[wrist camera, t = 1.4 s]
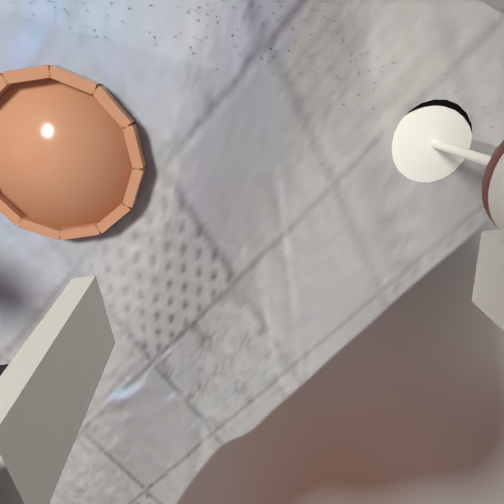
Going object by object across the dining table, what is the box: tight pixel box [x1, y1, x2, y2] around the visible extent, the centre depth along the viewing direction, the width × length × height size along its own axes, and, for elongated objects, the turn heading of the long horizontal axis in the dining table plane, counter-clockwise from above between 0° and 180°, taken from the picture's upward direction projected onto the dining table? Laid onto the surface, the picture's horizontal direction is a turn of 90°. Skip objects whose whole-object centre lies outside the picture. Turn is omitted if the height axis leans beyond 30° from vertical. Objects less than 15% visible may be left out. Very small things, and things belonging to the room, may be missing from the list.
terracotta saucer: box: [0, 65, 146, 240], centre depth 39 cm, size 16×16×2 cm
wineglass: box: [392, 100, 504, 229], centre depth 31 cm, size 9×10×22 cm
